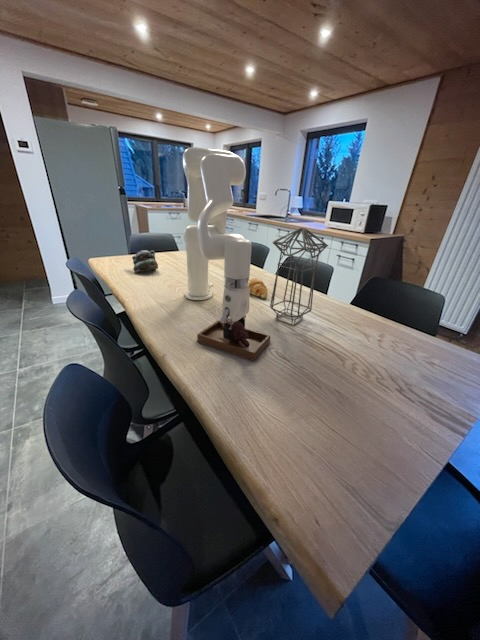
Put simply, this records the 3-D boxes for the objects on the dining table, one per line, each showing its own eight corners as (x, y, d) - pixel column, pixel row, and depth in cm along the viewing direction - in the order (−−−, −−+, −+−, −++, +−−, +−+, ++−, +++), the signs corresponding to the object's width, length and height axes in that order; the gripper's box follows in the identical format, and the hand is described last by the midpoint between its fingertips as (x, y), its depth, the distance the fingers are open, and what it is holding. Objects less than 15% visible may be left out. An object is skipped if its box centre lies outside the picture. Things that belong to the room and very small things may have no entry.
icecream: (211, 316, 87) (237, 339, 77) (229, 307, 90) (256, 328, 80) (214, 332, 92) (239, 355, 81) (231, 322, 95) (258, 344, 84)
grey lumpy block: (129, 273, 150) (124, 249, 150) (140, 276, 162) (135, 254, 162) (154, 267, 148) (148, 243, 148) (163, 270, 160) (158, 248, 160)
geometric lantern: (262, 318, 105) (270, 226, 90) (284, 308, 116) (295, 224, 101) (295, 332, 96) (312, 232, 81) (316, 319, 107) (334, 229, 91)
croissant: (270, 305, 127) (278, 291, 125) (254, 298, 121) (263, 283, 119) (249, 290, 143) (256, 277, 142) (235, 283, 137) (242, 270, 136)
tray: (217, 326, 97) (218, 320, 96) (269, 342, 88) (270, 335, 87) (197, 341, 87) (197, 334, 86) (253, 361, 78) (254, 353, 77)
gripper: (233, 292, 70) (230, 349, 78) (260, 277, 84) (255, 326, 92) (209, 287, 73) (209, 342, 81) (239, 273, 87) (236, 321, 95)
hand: (234, 333), depth 86 cm, fingers closed on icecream, 7 cm apart
